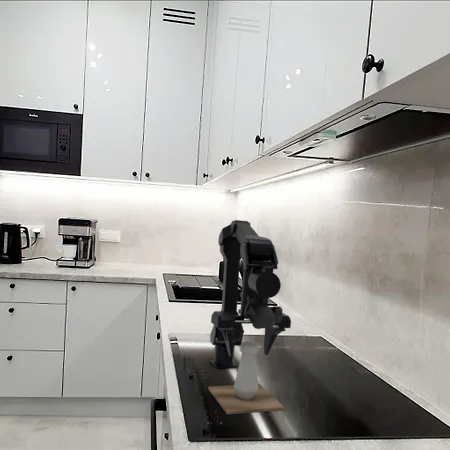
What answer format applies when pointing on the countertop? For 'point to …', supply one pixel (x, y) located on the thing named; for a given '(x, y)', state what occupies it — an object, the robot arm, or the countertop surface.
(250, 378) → the salt shaker
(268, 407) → the walnut board
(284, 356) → the countertop surface
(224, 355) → the robot arm
